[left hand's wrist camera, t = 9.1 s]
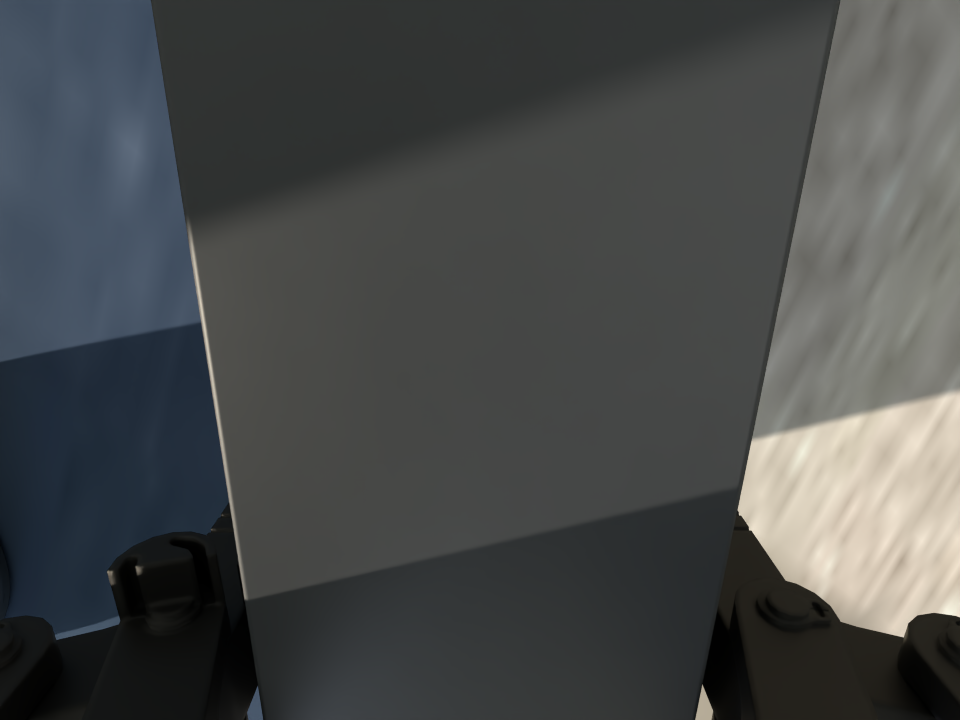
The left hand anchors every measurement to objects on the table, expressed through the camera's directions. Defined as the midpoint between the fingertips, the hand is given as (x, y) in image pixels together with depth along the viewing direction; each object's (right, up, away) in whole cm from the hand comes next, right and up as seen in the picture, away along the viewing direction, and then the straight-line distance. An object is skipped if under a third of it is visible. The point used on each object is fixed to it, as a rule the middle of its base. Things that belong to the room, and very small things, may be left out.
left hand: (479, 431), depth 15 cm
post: (0, +32, -12) cm, 34 cm away
